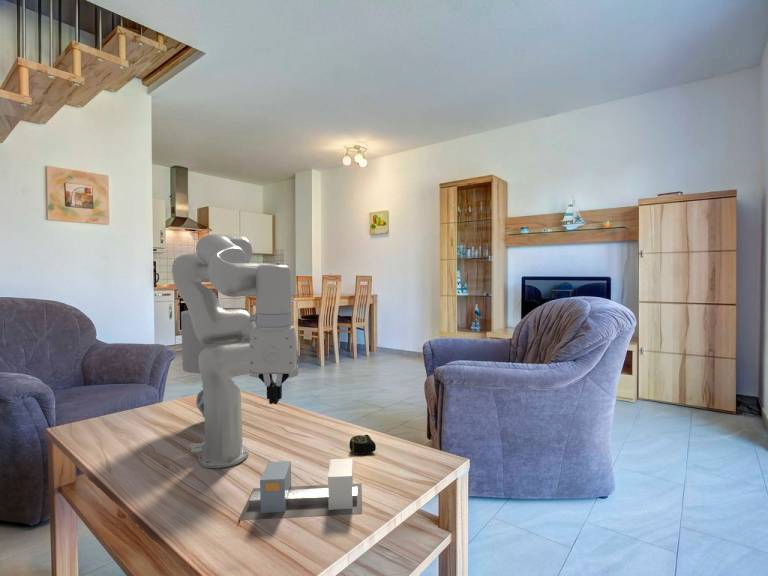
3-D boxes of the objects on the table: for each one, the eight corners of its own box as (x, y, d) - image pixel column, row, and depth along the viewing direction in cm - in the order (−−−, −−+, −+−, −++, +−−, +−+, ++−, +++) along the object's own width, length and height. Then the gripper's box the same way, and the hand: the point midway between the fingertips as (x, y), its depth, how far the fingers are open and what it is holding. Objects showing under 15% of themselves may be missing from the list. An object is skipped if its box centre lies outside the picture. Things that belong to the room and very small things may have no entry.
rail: (248, 507, 86) (248, 500, 86) (253, 498, 90) (252, 491, 90) (357, 502, 88) (357, 495, 88) (357, 493, 91) (357, 486, 91)
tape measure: (376, 455, 113) (376, 441, 112) (352, 458, 111) (352, 445, 110) (370, 445, 119) (369, 432, 119) (347, 448, 117) (347, 435, 117)
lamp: (183, 416, 144) (180, 309, 143) (246, 406, 154) (243, 306, 153) (186, 438, 125) (182, 315, 124) (257, 425, 135) (254, 311, 134)
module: (260, 513, 84) (259, 480, 84) (269, 492, 92) (268, 461, 92) (285, 512, 84) (284, 479, 84) (291, 491, 92) (290, 460, 92)
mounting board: (238, 524, 82) (238, 519, 82) (253, 492, 94) (253, 488, 94) (362, 518, 83) (362, 513, 83) (361, 487, 95) (361, 483, 95)
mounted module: (328, 509, 85) (328, 477, 85) (331, 489, 93) (330, 459, 93) (352, 508, 85) (352, 475, 85) (352, 488, 93) (352, 458, 93)
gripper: (234, 323, 85) (235, 408, 87) (305, 323, 86) (305, 408, 87) (244, 318, 93) (245, 396, 94) (310, 318, 93) (310, 396, 95)
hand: (274, 401), depth 91 cm, fingers closed
